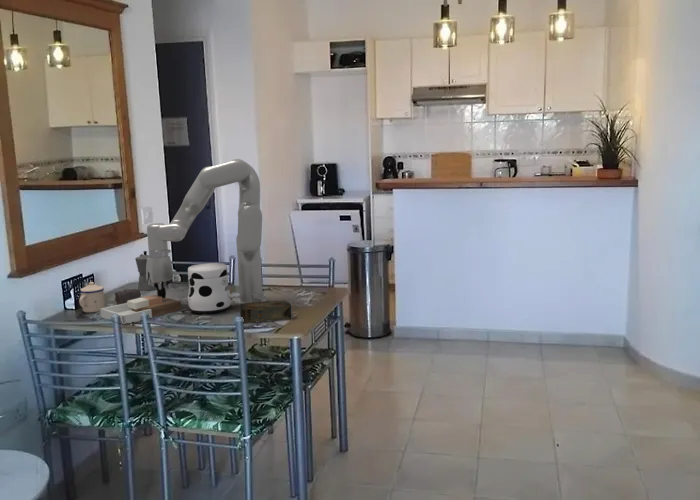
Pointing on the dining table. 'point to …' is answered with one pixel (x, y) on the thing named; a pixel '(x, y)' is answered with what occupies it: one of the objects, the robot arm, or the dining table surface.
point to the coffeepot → (143, 272)
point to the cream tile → (138, 303)
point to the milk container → (208, 288)
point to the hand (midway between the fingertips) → (161, 298)
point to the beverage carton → (265, 311)
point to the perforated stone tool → (126, 295)
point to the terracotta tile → (153, 299)
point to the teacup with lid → (92, 298)
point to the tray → (123, 313)
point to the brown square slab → (162, 307)
